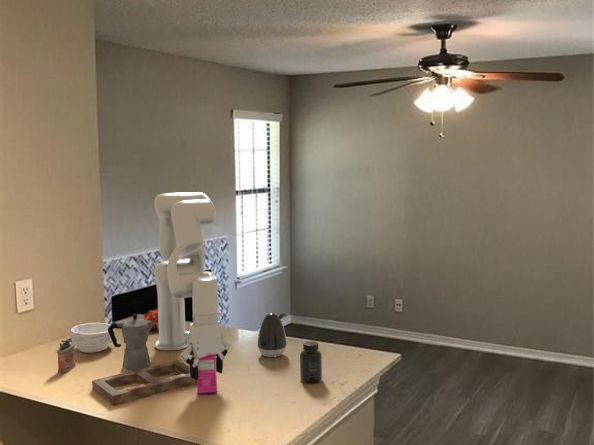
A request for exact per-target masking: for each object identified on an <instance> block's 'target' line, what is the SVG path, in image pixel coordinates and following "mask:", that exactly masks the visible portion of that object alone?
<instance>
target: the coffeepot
mask: <svg viewBox="0 0 594 445" xmlns="http://www.w3.org/2000/svg"><path fill="white" fill-rule="evenodd" d="M131 316H132V319H128V320H124V321H123V322H119V321H118V322H112V323H111V325H110V326H109V328H108V333H109V335H110V337H111V339H112V342H111V343H112V344H113V346H114V348H120V347H121V346H122V343H117V342H118V340H117V337H116V334H115V329H119V330H121V334H122V338H123V339H122V340H123V343H124V344H125V348H124V354H123V359H122V360H123V361H122V365H121V366H122V368H123V370H125V371H127V372H130V371H134V370H138V369H142V368H147V367H151V359H150V354H149V349H148V346H147V342H148V339H149V334H150V331H151V328H152V326H153V325H154V324H155V322H154V321H148V320H144V318H143V319H142V318H141V319H140V318H138V314H137V313H134V314H132V315H131ZM113 329H114V331H113Z"/></svg>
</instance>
